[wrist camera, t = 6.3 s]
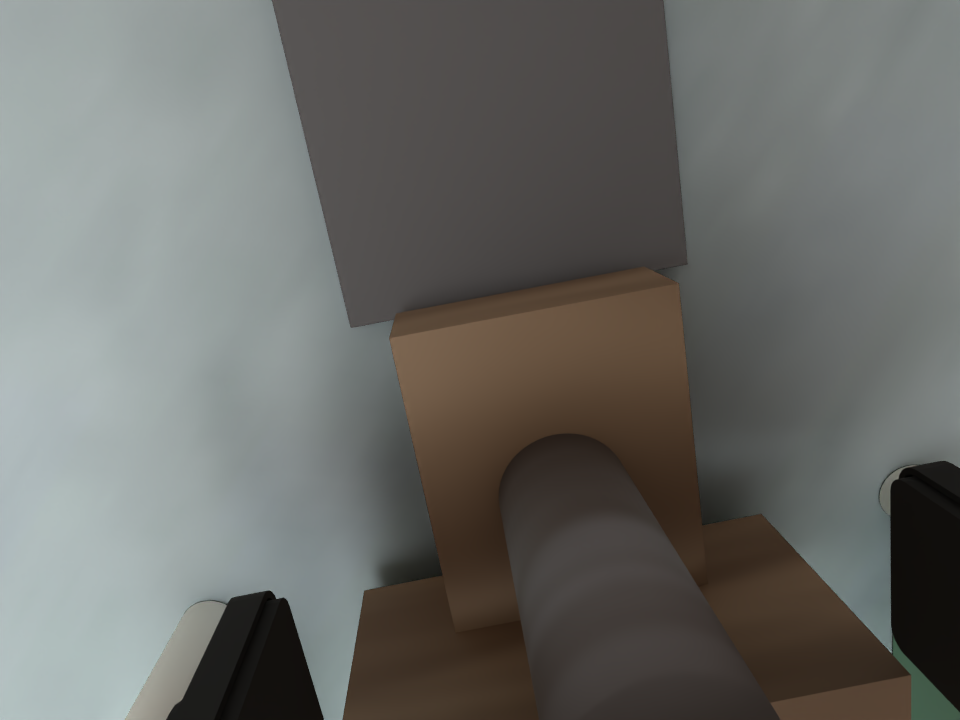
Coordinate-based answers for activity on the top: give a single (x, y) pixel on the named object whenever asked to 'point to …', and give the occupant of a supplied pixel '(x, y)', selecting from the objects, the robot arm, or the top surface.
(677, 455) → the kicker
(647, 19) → the track
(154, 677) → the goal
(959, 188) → the top surface
